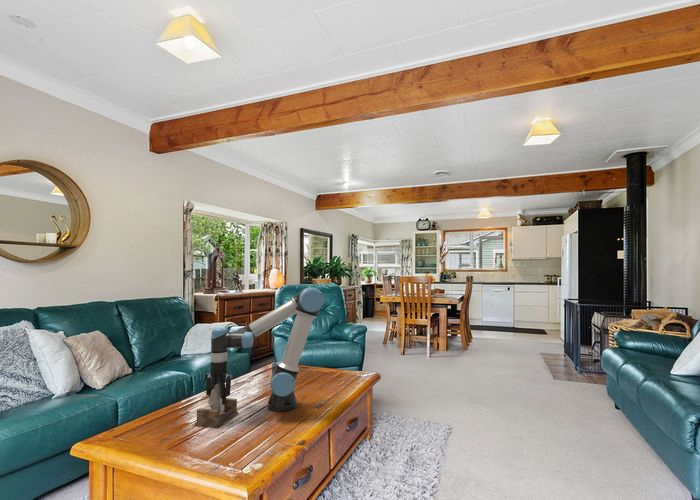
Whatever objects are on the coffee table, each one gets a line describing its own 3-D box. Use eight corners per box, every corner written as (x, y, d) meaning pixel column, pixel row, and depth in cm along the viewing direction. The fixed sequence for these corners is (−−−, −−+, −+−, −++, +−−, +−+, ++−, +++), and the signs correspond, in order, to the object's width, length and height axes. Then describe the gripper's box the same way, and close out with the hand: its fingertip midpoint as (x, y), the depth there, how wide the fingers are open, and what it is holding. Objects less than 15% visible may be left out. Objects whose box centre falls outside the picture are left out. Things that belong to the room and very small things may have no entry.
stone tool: (213, 419, 175) (212, 386, 176) (207, 418, 176) (206, 385, 177) (228, 411, 185) (227, 379, 187) (222, 410, 187) (221, 379, 188)
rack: (238, 414, 188) (238, 399, 189) (218, 428, 171) (218, 411, 171) (216, 412, 191) (217, 397, 191) (194, 425, 173) (195, 409, 174)
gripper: (238, 360, 185) (237, 409, 183) (207, 358, 188) (206, 406, 187) (230, 363, 177) (229, 415, 176) (198, 361, 181) (197, 412, 179)
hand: (217, 410), depth 181 cm, fingers closed on stone tool, 4 cm apart
